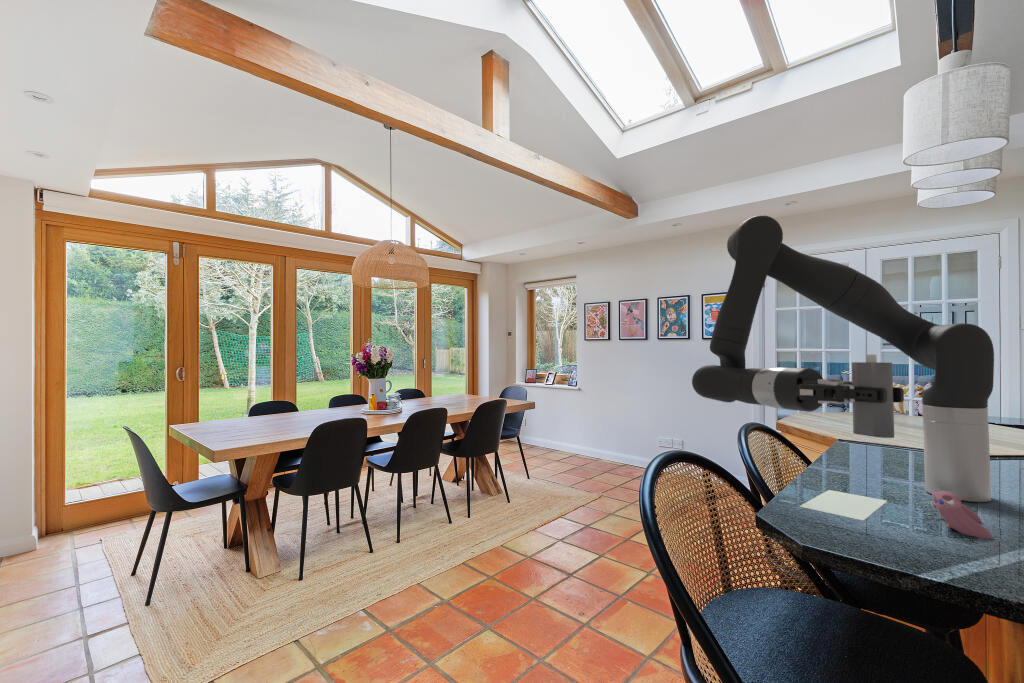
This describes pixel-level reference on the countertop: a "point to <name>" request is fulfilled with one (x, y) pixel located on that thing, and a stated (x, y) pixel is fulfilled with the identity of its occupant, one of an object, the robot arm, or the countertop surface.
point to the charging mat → (844, 504)
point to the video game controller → (958, 515)
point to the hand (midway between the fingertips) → (893, 395)
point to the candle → (867, 414)
